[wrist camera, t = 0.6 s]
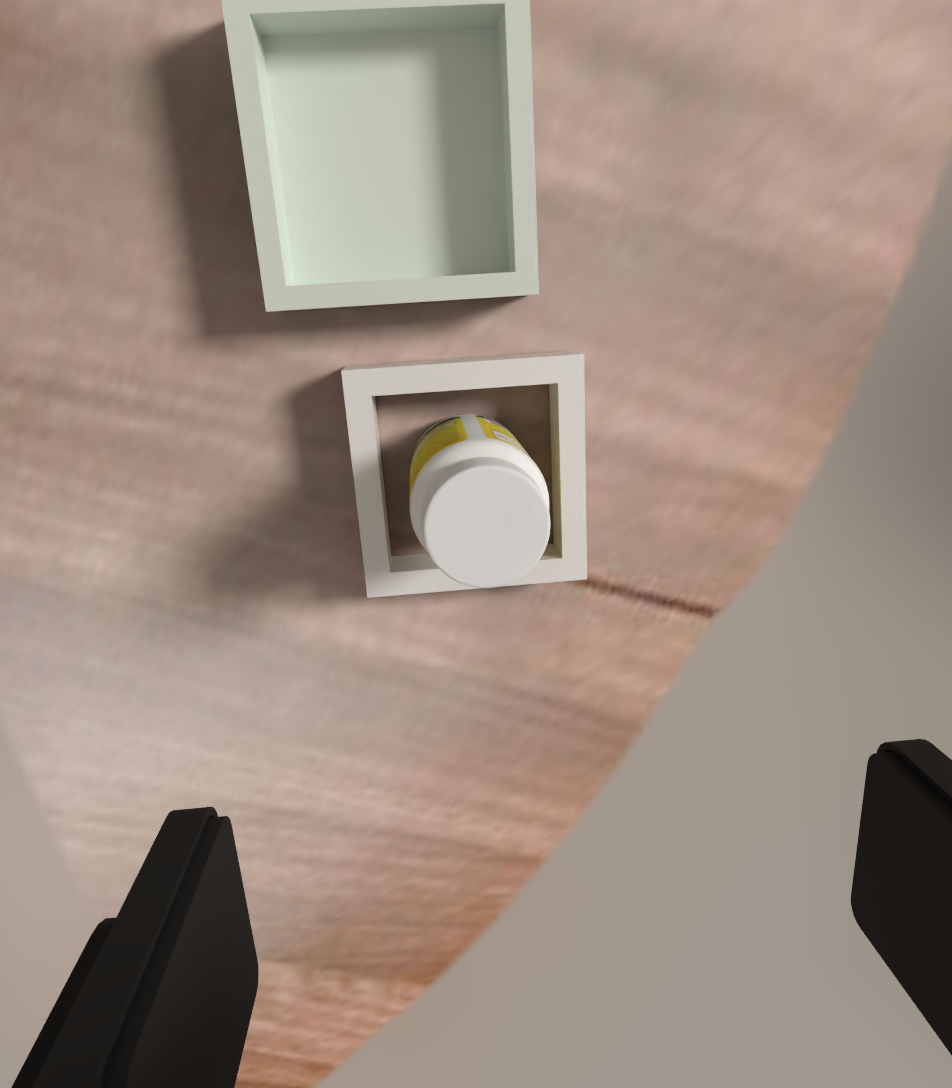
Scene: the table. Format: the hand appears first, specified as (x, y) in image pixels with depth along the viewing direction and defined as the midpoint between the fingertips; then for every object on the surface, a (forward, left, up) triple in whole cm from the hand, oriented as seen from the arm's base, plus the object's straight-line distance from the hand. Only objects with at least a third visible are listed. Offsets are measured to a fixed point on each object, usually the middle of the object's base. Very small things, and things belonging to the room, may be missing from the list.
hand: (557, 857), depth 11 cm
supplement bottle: (-1, 0, -21) cm, 21 cm away
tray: (-13, -2, -21) cm, 25 cm away
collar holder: (-1, 0, -21) cm, 21 cm away
